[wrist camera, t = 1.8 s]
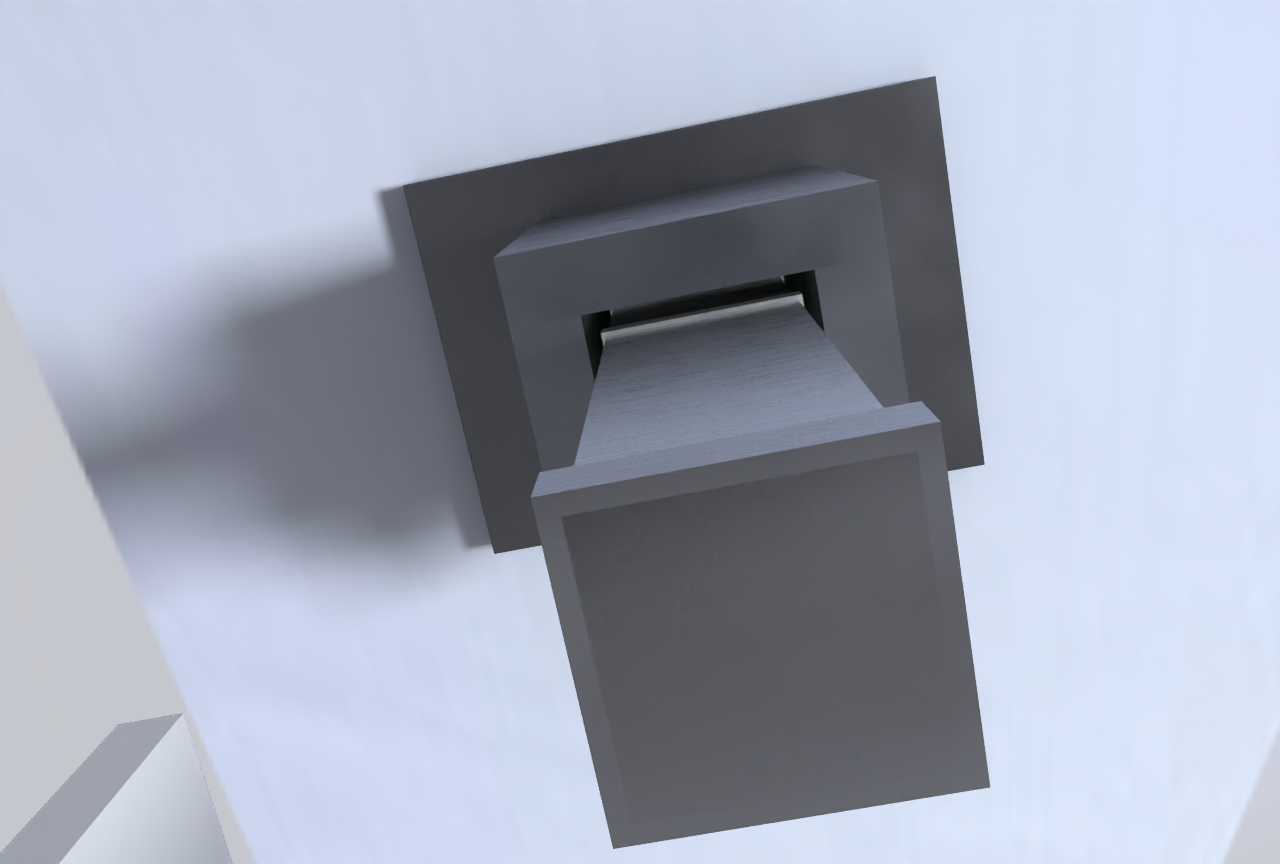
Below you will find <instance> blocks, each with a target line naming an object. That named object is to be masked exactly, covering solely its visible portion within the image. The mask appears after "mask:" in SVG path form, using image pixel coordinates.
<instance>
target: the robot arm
mask: <svg viewBox="0 0 1280 864" xmlns="http://www.w3.org/2000/svg"><path fill="white" fill-rule="evenodd" d="M0 864H233V863H232V860H231V857H230V854H229V851H228V848H227V845H226V842H225V839H224V835H223V833H222V829H221V826H220V823H219V821H218V817H217V815H216V811H215V808H214V805H213V802H212V799H211V796H210V793H209V790H208V787H207V784H206V781H205V778H204V775H203V772H202V769H201V766H200V763H199V760H198V757H197V754H196V751H195V748H194V744H193V741H192V738H191V735H190V732H189V729H188V726H187V723H186V720H185V717H184V714H183V713H181V714H175V715H170V716H164V717H158V718H152V719H147V720H141V721H135V722H130V723H124V724H119V725H117V727H116V728H115V729H114V730H113V731H112V732H111V733H110V734H109V735H108V736H107V737H106V738H105V739H104V741H103V742H102V743H101V744H100V745H99V746H98V747H97V748H96V749H95V750H94V752H93V753H92V754H91V755H90V756H89V757H88V758H87V759H86V760H85V761H84V762H83V764H82V765H81V766H80V767H79V768H78V769H77V770H76V771H75V772H74V773H73V774H72V775H71V777H70V778H69V779H68V780H67V781H66V782H65V783H64V784H63V785H62V787H60V789H59V790H58V791H57V792H56V793H55V794H54V795H53V796H52V797H51V798H50V799H49V800H48V802H47V803H46V804H45V805H44V806H43V807H42V808H41V809H40V810H39V811H38V812H37V814H36V815H35V816H34V817H33V818H32V819H31V820H30V821H29V822H28V823H27V825H26V826H25V827H24V828H23V829H22V830H21V831H20V832H19V833H18V834H17V835H16V837H15V838H14V839H13V840H12V841H11V842H10V843H9V844H8V845H7V846H6V847H5V848H4V850H3V851H2V852H1V853H0Z"/></svg>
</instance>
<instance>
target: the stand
mask: <svg viewBox="0 0 1280 864" xmlns="http://www.w3.org/2000/svg"><path fill="white" fill-rule="evenodd" d="M404 190H405V194H406V199H407V203H408V207H409V211H410V215H411V219H412V223H413V227H414V231H415V235H416V239H417V243H418V247H419V251H420V255H421V259H422V263H423V267H424V271H425V275H426V279H427V284H428V288H429V292H430V296H431V300H432V304H433V308H434V312H435V316H436V320H437V324H438V328H439V332H440V336H441V340H442V344H443V348H444V352H445V356H446V360H447V364H448V369H449V373H450V377H451V381H452V385H453V389H454V393H455V397H456V401H457V405H458V409H459V413H460V417H461V421H462V425H463V429H464V433H465V437H466V441H467V445H468V449H469V454H470V458H471V462H472V466H473V470H474V474H475V478H476V482H477V486H478V490H479V494H480V498H481V502H482V506H483V510H484V514H485V518H486V522H487V526H488V530H489V534H490V539H491V543H492V547H493V551H494V554H496V553H502V552H507V551H513V550H518V549H524V548H529V547H534V546H540V545H542V543H541V539H540V535H539V531H538V526H537V522H536V518H535V514H534V509H533V505H532V501H531V495H532V492H533V489H534V486H535V484H536V481H537V478H538V475H539V472H544V471H549V470H554V469H560V468H565V467H571V466H574V464H575V460H576V456H577V452H578V448H579V444H580V440H581V436H582V432H583V428H584V424H585V420H586V416H587V412H588V408H589V404H590V400H591V396H592V392H593V388H594V384H595V380H596V376H597V372H598V368H599V364H600V360H601V356H602V352H603V348H604V346H603V341H602V336H601V331H602V329H606V328H609V324H610V320H611V313H610V309H616V308H621V307H626V306H631V305H636V304H641V303H646V302H651V301H656V300H662V299H667V298H672V297H677V296H682V295H687V294H692V293H697V292H703V291H708V290H713V289H718V288H723V287H728V286H733V285H738V284H743V283H749V282H754V281H759V280H764V279H769V278H774V277H779V276H783V277H784V282H785V284H786V285H787V286H788V287H789V289H790V290H791V291H792V292H796V291H800V292H801V294H802V297H803V303H804V308H805V309H806V310H807V311H808V313H809V314H810V315H811V317H812V318H813V319H814V320H815V322H816V323H817V324H818V325H819V327H820V328H821V329H822V330H823V332H824V333H825V334H826V336H827V337H828V338H829V339H830V341H831V342H832V343H833V344H834V346H835V347H836V348H837V349H838V351H839V352H840V353H841V355H842V356H843V357H844V358H845V360H846V361H847V362H848V363H849V365H850V366H851V367H852V368H853V370H854V371H855V372H856V373H857V375H858V376H859V377H860V379H861V380H862V381H863V382H864V384H865V385H866V386H867V387H868V389H869V390H870V391H871V392H872V394H873V395H874V396H875V398H876V399H877V400H878V401H879V403H880V404H881V405H882V406H883V408H887V407H892V406H897V405H903V404H908V403H913V402H919V401H922V402H923V403H924V405H925V406H926V407H927V408H928V409H929V410H930V411H931V412H932V413H933V414H934V415H935V416H936V417H937V418H938V419H939V420H940V421H941V428H942V436H943V443H944V450H945V458H946V465H947V471H951V470H957V469H962V468H968V467H973V466H979V465H984V456H983V449H982V441H981V433H980V425H979V417H978V409H977V401H976V393H975V385H974V377H973V370H972V362H971V354H970V346H969V338H968V330H967V322H966V314H965V306H964V298H963V291H962V283H961V275H960V267H959V259H958V251H957V243H956V235H955V227H954V219H953V212H952V204H951V196H950V188H949V180H948V172H947V164H946V156H945V148H944V140H943V133H942V125H941V117H940V109H939V101H938V93H937V85H936V77H935V76H934V77H928V78H923V79H918V80H913V81H909V82H904V83H899V84H894V85H889V86H884V87H879V88H875V89H870V90H865V91H860V92H855V93H850V94H845V95H841V96H836V97H831V98H826V99H821V100H816V101H811V102H806V103H802V104H797V105H792V106H787V107H782V108H777V109H772V110H768V111H763V112H758V113H753V114H748V115H743V116H738V117H733V118H729V119H724V120H719V121H714V122H709V123H704V124H699V125H695V126H690V127H685V128H680V129H675V130H670V131H665V132H660V133H656V134H651V135H646V136H641V137H636V138H631V139H626V140H622V141H617V142H612V143H607V144H602V145H597V146H592V147H587V148H583V149H578V150H573V151H568V152H563V153H558V154H553V155H549V156H544V157H539V158H534V159H529V160H524V161H519V162H515V163H510V164H505V165H500V166H495V167H490V168H485V169H480V170H476V171H471V172H466V173H461V174H456V175H451V176H446V177H442V178H437V179H432V180H427V181H422V182H417V183H412V184H408V185H404Z"/></svg>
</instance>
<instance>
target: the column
mask: <svg viewBox="0 0 1280 864" xmlns="http://www.w3.org/2000/svg"><path fill="white" fill-rule="evenodd" d="M610 313H611V320H610V324H609V328H606V329H602V331H601V336H602V341H603V346H604V348H603V352H602V356H601V360H600V364H599V368H598V372H597V376H596V380H595V384H594V388H593V392H592V396H591V400H590V404H589V408H588V412H587V416H586V420H585V424H584V428H583V432H582V436H581V440H580V444H579V448H578V452H577V456H576V460H575V464H574V466H571V467H565V468H560V469H554V470H549V471H544V472H539V475H538V478H537V481H536V484H535V486H534V489H533V492H532V495H531V501H532V505H533V509H534V514H535V518H536V522H537V526H538V531H539V535H540V539H541V543H542V548H543V552H544V556H545V561H546V565H547V569H548V573H549V578H550V582H551V586H552V590H553V595H554V599H555V603H556V607H557V612H558V616H559V620H560V624H561V629H562V633H563V637H564V641H565V646H566V650H567V654H568V658H569V663H570V667H571V671H572V675H573V680H574V684H575V688H576V692H577V697H578V701H579V705H580V709H581V714H582V718H583V722H584V726H585V731H586V735H587V739H588V743H589V748H590V752H591V756H592V760H593V765H594V769H595V773H596V777H597V782H598V786H599V790H600V794H601V799H602V803H603V807H604V811H605V816H606V820H607V824H608V828H609V833H610V837H611V841H612V845H613V849H615V848H622V847H628V846H634V845H640V844H646V843H652V842H658V841H664V840H671V839H677V838H683V837H689V836H695V835H701V834H707V833H713V832H720V831H726V830H732V829H738V828H744V827H750V826H756V825H762V824H768V823H775V822H781V821H787V820H793V819H799V818H805V817H811V816H817V815H824V814H830V813H836V812H842V811H848V810H854V809H860V808H866V807H873V806H879V805H885V804H891V803H897V802H903V801H909V800H915V799H922V798H928V797H934V796H940V795H946V794H952V793H958V792H964V791H970V790H977V789H983V788H989V787H990V782H989V775H988V768H987V760H986V753H985V746H984V738H983V731H982V723H981V716H980V709H979V701H978V694H977V686H976V679H975V672H974V664H973V657H972V650H971V642H970V635H969V627H968V620H967V613H966V605H965V598H964V591H963V583H962V576H961V568H960V561H959V554H958V546H957V539H956V532H955V524H954V517H953V509H952V502H951V495H950V487H949V480H948V473H947V465H946V458H945V450H944V443H943V436H942V428H941V421H940V420H939V419H938V418H937V417H936V416H935V415H934V414H933V413H932V412H931V411H930V410H929V409H928V408H927V407H926V406H925V405H924V403H923V402H922V401H919V402H913V403H908V404H903V405H897V406H892V407H887V408H883V406H882V405H881V404H880V403H879V401H878V400H877V399H876V398H875V396H874V395H873V394H872V392H871V391H870V390H869V389H868V387H867V386H866V385H865V384H864V382H863V381H862V380H861V379H860V377H859V376H858V375H857V373H856V372H855V371H854V370H853V368H852V367H851V366H850V365H849V363H848V362H847V361H846V360H845V358H844V357H843V356H842V355H841V353H840V352H839V351H838V349H837V348H836V347H835V346H834V344H833V343H832V342H831V341H830V339H829V338H828V337H827V336H826V334H825V333H824V332H823V330H822V329H821V328H820V327H819V325H818V324H817V323H816V322H815V320H814V319H813V318H812V317H811V315H810V314H809V313H808V311H807V310H806V309H805V308H804V303H803V297H802V294H801V292H800V291H796V292H792V291H791V290H790V289H789V287H788V286H787V285H786V284H785V282H784V277H783V276H779V277H774V278H769V279H764V280H759V281H754V282H749V283H743V284H738V285H733V286H728V287H723V288H718V289H713V290H708V291H703V292H697V293H692V294H687V295H682V296H677V297H672V298H667V299H662V300H656V301H651V302H646V303H641V304H636V305H631V306H626V307H621V308H616V309H610Z"/></svg>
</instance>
